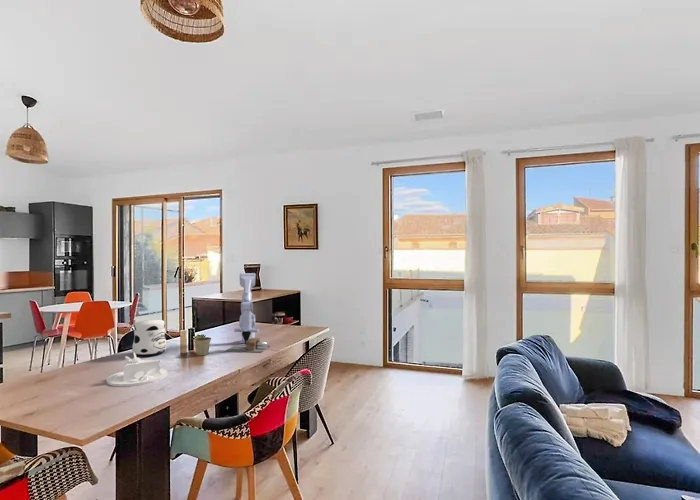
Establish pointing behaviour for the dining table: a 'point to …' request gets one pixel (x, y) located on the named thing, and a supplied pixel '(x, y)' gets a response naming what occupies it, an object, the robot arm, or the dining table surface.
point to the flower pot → (202, 345)
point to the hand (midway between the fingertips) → (246, 344)
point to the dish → (137, 373)
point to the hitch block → (248, 347)
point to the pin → (261, 344)
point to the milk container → (149, 337)
